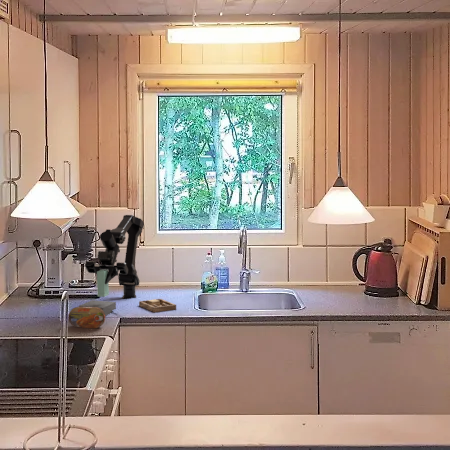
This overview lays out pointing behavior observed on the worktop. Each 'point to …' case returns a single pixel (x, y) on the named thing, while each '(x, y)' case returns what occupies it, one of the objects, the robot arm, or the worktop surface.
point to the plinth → (101, 305)
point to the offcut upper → (154, 302)
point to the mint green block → (102, 283)
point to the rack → (163, 306)
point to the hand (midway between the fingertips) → (101, 283)
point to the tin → (87, 317)
